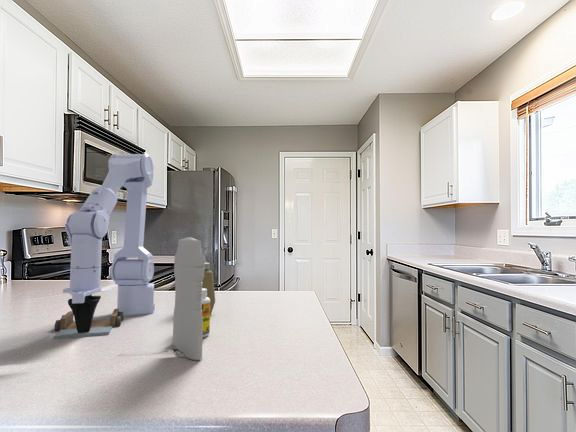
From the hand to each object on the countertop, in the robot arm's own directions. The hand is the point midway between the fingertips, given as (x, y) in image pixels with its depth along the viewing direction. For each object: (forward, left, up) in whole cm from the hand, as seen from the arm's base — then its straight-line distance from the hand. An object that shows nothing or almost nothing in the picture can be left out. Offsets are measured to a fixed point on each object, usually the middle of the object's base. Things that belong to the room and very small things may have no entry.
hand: (83, 331), depth 77 cm
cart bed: (0, -9, -2) cm, 9 cm away
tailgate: (0, -4, 0) cm, 4 cm away
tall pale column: (-20, +16, -2) cm, 26 cm away
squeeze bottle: (-26, -17, -2) cm, 31 cm away
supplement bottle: (-23, +4, -2) cm, 23 cm away
